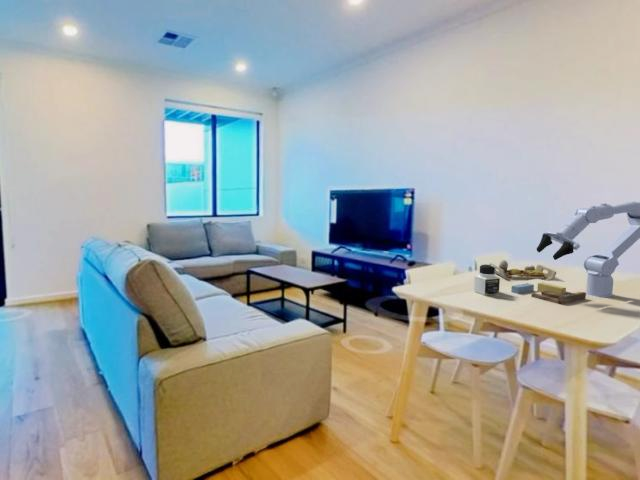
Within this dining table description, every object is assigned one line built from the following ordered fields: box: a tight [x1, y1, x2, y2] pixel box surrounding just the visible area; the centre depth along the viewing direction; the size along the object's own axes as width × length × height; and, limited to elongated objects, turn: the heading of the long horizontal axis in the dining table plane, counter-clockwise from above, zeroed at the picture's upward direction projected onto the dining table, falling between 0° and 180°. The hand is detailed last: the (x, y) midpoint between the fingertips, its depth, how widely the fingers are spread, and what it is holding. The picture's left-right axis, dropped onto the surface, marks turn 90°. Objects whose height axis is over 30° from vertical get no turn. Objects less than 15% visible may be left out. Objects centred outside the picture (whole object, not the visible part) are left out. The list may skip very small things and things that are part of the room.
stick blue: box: [511, 282, 535, 295], centre depth 165 cm, size 10×3×4 cm, turn 116°
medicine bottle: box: [473, 264, 501, 297], centre depth 165 cm, size 7×7×12 cm
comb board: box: [530, 291, 587, 305], centre depth 155 cm, size 12×15×3 cm
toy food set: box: [489, 260, 557, 281], centre depth 196 cm, size 25×18×8 cm
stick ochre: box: [536, 282, 567, 295], centre depth 161 cm, size 10×3×4 cm, turn 26°
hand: (545, 254), depth 155 cm, fingers open, 7 cm apart
